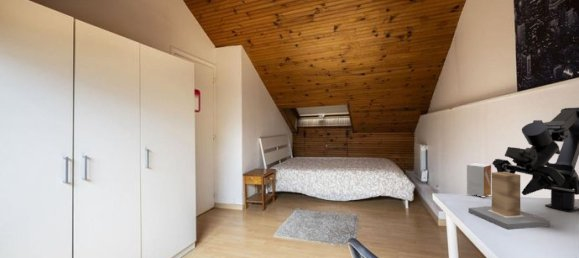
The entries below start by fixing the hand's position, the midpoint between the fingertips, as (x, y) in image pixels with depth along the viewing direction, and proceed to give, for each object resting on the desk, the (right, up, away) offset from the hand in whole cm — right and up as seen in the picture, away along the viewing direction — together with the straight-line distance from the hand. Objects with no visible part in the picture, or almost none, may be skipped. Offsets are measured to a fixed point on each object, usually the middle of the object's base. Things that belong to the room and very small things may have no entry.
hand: (508, 190), depth 81 cm
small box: (+10, -9, +25) cm, 29 cm away
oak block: (-1, -8, 0) cm, 8 cm away
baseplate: (-1, -9, 0) cm, 9 cm away
